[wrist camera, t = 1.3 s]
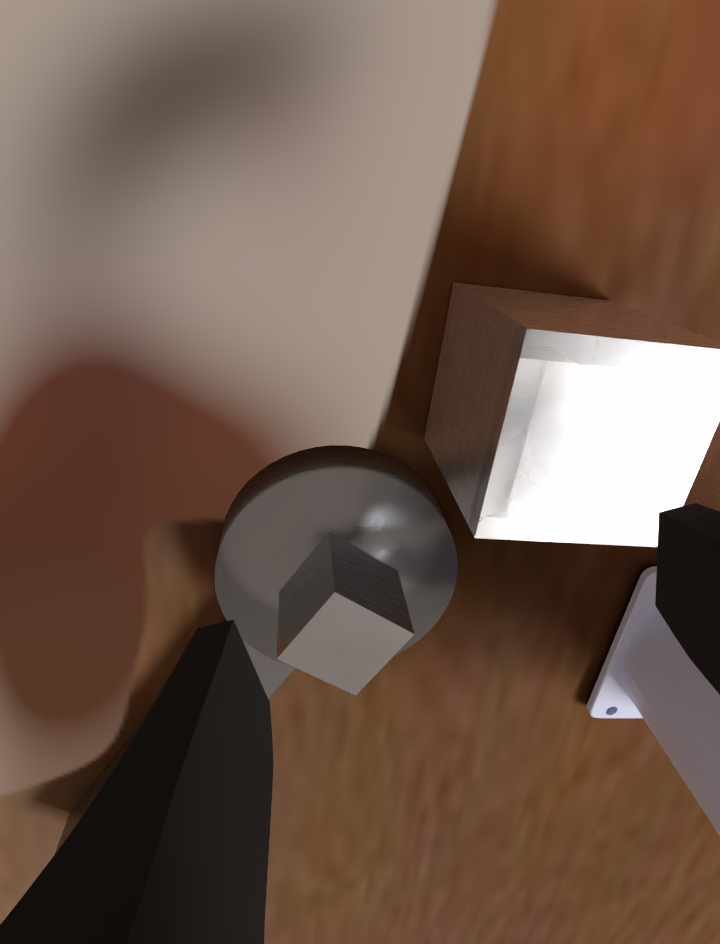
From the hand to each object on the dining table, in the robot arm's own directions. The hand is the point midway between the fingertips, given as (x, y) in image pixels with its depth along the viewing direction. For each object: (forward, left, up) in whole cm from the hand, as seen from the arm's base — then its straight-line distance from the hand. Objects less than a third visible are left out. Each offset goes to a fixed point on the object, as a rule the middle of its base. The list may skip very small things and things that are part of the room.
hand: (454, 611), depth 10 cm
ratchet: (+4, +11, -10) cm, 16 cm away
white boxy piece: (-4, -2, -10) cm, 11 cm away
